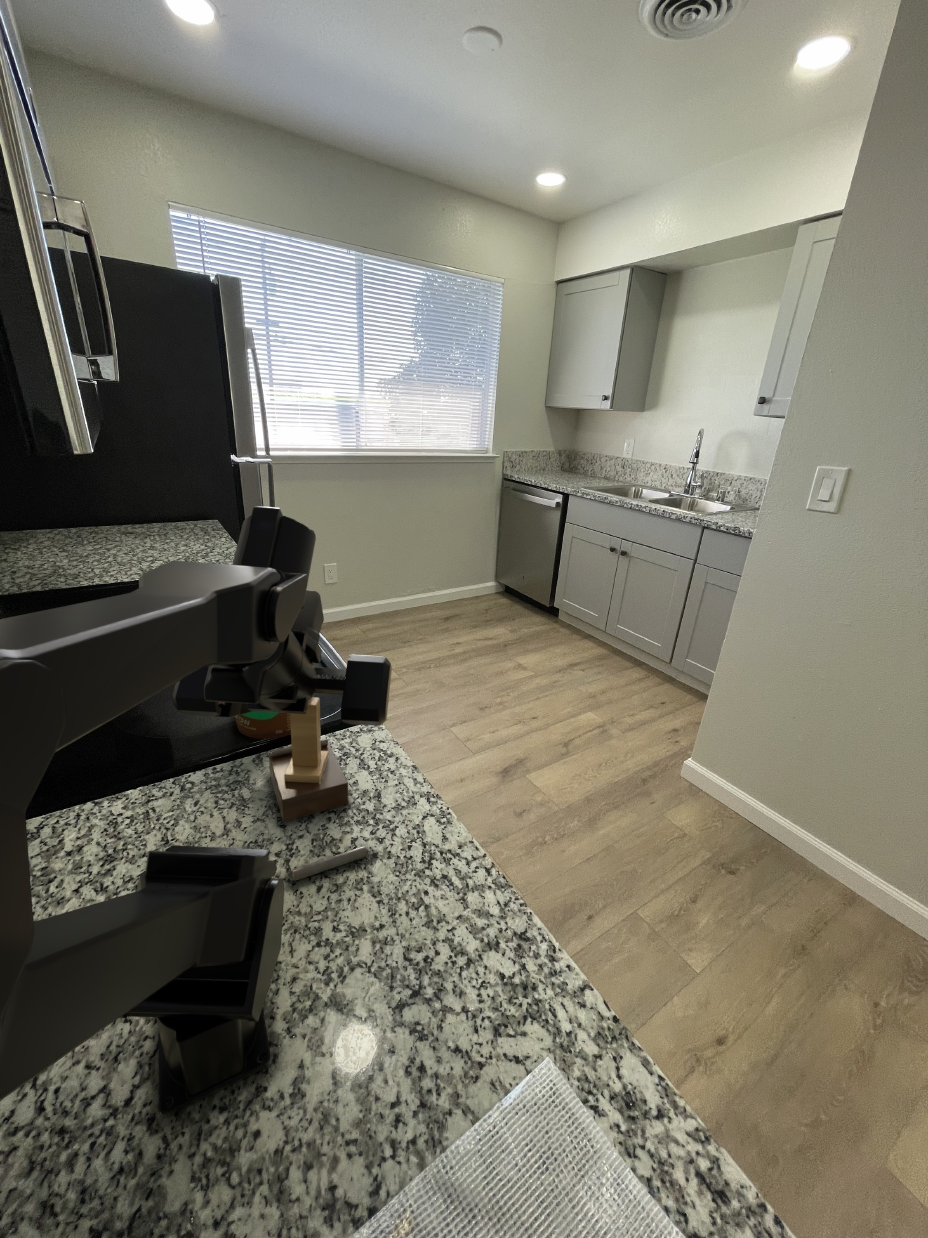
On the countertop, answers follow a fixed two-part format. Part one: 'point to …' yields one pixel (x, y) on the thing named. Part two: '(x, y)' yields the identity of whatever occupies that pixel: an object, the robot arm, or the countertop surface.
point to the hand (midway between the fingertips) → (305, 706)
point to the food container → (264, 724)
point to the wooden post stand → (306, 746)
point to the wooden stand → (311, 801)
